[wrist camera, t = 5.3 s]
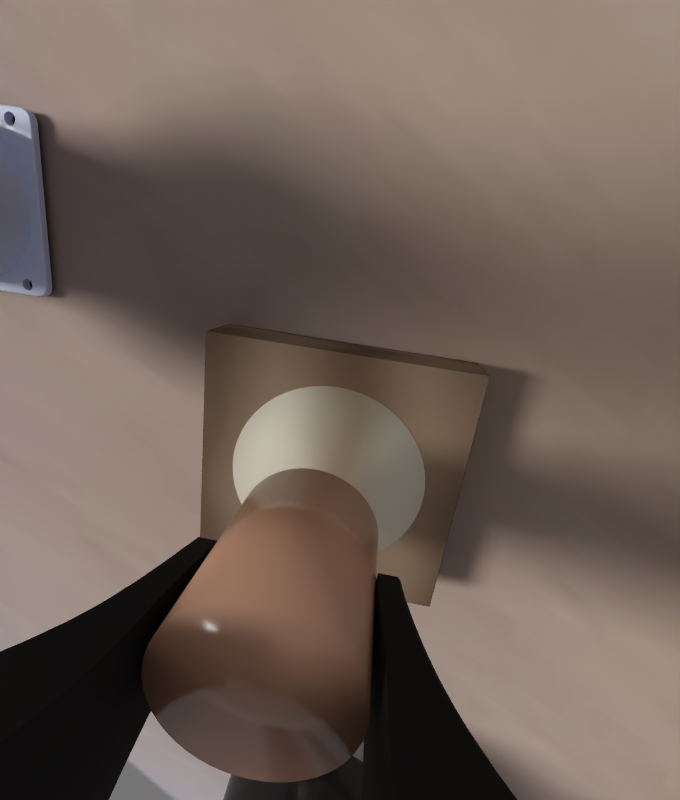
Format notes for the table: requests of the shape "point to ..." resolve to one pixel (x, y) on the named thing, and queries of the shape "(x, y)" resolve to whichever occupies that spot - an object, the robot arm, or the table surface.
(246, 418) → the plinth
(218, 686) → the terracotta cylinder
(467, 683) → the table surface
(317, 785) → the black egg shaped device
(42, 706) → the robot arm
